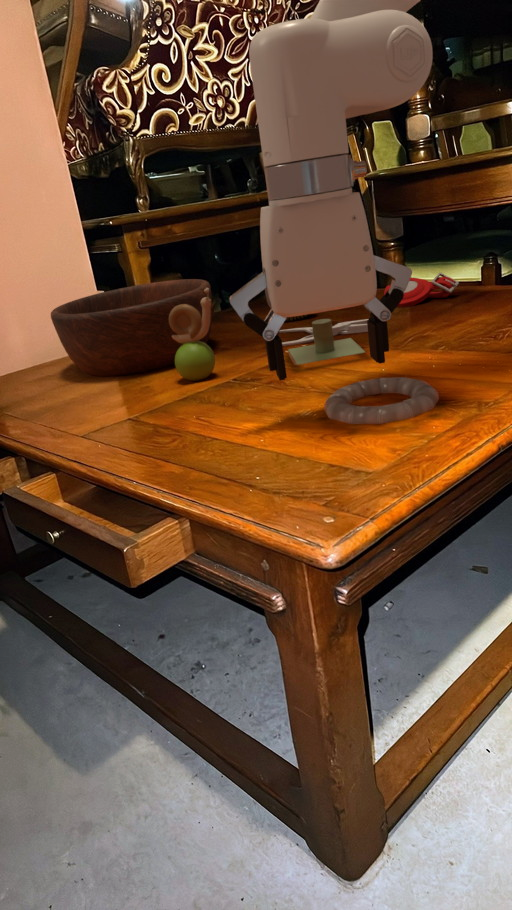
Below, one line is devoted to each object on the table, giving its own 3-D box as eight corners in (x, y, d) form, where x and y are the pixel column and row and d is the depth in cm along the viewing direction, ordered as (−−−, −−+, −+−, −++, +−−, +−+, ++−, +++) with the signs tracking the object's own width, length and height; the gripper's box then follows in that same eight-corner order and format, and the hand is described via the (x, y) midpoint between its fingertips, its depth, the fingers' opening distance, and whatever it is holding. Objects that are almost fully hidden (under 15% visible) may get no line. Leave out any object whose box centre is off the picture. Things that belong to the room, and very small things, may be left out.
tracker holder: (392, 305, 114) (371, 283, 122) (398, 327, 116) (377, 305, 124) (461, 274, 113) (435, 255, 121) (465, 298, 116) (439, 277, 124)
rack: (351, 346, 98) (347, 309, 96) (366, 360, 90) (362, 321, 88) (289, 357, 98) (283, 321, 96) (298, 373, 89) (292, 334, 87)
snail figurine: (220, 383, 91) (203, 291, 86) (174, 388, 92) (155, 298, 88) (229, 371, 96) (213, 284, 91) (185, 376, 97) (167, 290, 93)
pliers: (279, 324, 112) (372, 314, 109) (280, 334, 113) (373, 324, 109) (266, 339, 104) (367, 329, 100) (268, 350, 104) (368, 339, 100)
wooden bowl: (62, 395, 98) (43, 324, 95) (70, 359, 121) (54, 300, 118) (233, 359, 102) (221, 289, 98) (209, 330, 125) (198, 272, 121)
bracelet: (418, 389, 76) (416, 368, 75) (455, 421, 65) (453, 397, 64) (318, 407, 75) (315, 386, 75) (338, 443, 65) (335, 419, 64)
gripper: (392, 169, 66) (404, 346, 72) (211, 198, 65) (240, 374, 71) (416, 166, 59) (428, 362, 65) (214, 199, 58) (245, 393, 64)
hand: (329, 368), depth 68 cm, fingers open, 9 cm apart
